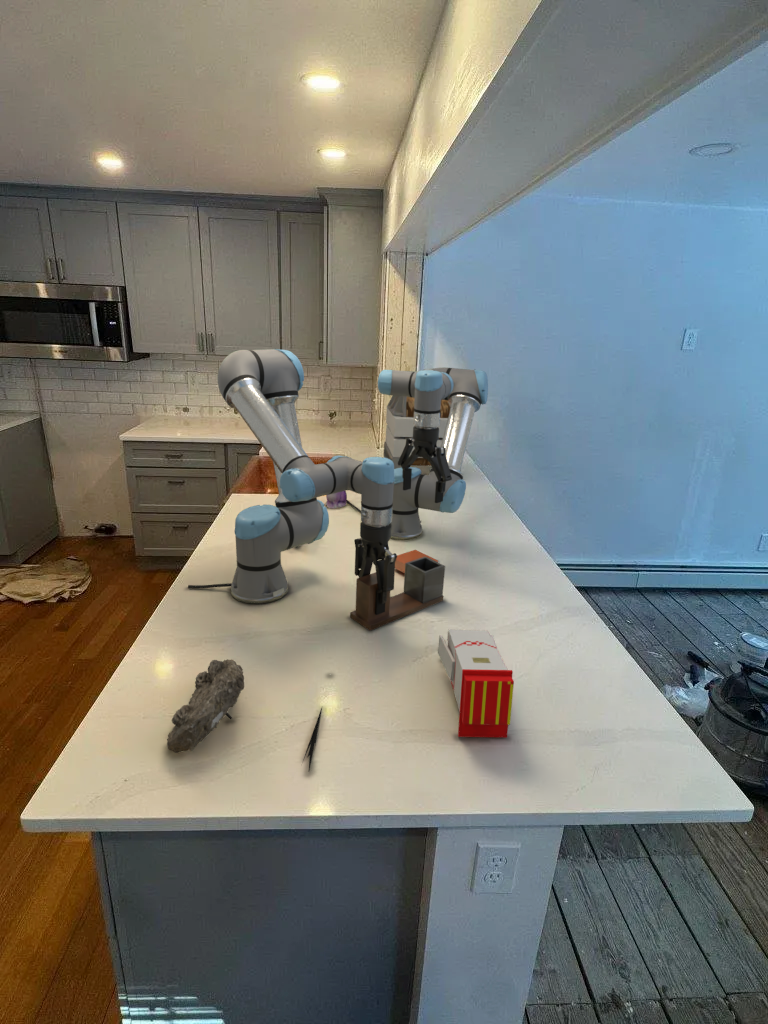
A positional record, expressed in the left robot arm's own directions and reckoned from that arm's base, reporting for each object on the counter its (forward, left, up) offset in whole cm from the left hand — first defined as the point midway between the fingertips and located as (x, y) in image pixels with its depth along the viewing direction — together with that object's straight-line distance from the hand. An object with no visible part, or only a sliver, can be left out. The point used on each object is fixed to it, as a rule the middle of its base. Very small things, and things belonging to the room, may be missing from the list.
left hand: (372, 607), depth 143 cm
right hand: (+5, +38, +19) cm, 43 cm away
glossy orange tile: (+5, +31, -3) cm, 32 cm away
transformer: (-12, +139, -3) cm, 140 cm away
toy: (+27, -22, -3) cm, 35 cm away
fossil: (-20, -44, -3) cm, 49 cm away
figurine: (-36, +80, -3) cm, 88 cm away
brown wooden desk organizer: (+5, +7, -3) cm, 10 cm away
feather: (0, -39, -3) cm, 39 cm away
